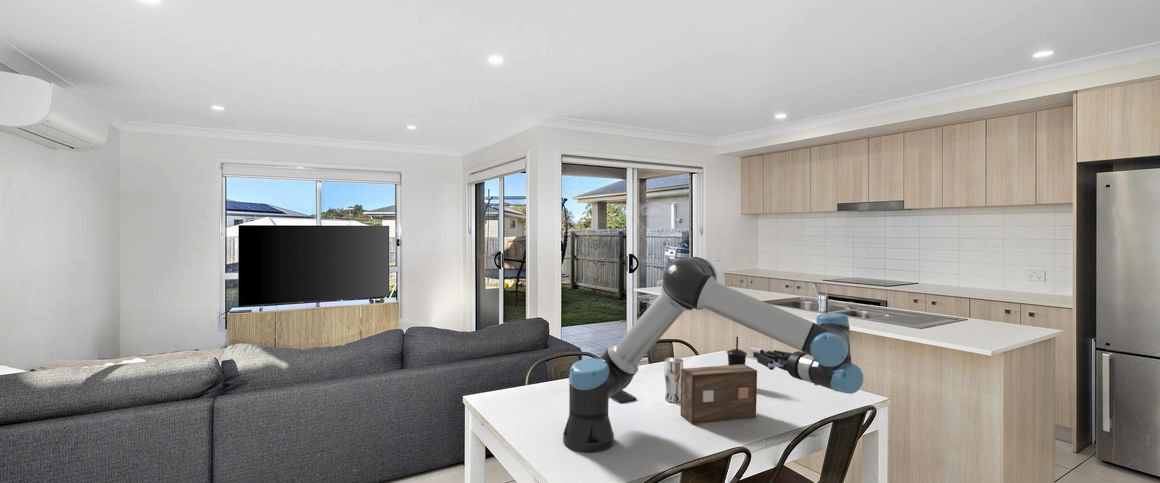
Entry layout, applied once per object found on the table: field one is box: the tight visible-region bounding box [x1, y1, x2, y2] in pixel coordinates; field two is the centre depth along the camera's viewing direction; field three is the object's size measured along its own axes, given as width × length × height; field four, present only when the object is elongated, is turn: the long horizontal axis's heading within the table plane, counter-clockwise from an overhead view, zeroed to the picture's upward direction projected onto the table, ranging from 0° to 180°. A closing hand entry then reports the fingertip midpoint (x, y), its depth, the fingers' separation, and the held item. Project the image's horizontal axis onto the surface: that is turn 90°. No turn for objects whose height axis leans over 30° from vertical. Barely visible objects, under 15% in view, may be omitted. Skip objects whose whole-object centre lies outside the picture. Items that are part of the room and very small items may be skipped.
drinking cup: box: [726, 336, 748, 365], centre depth 205 cm, size 8×8×20 cm
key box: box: [680, 364, 758, 425], centre depth 173 cm, size 8×24×16 cm, turn 106°
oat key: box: [702, 389, 714, 402], centre depth 169 cm, size 6×4×4 cm, turn 16°
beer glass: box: [663, 357, 684, 404], centre depth 188 cm, size 7×7×15 cm
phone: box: [609, 389, 637, 404], centre depth 193 cm, size 8×1×15 cm
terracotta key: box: [737, 386, 748, 399], centre depth 173 cm, size 6×4×4 cm, turn 16°
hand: (750, 351), depth 162 cm, fingers closed
